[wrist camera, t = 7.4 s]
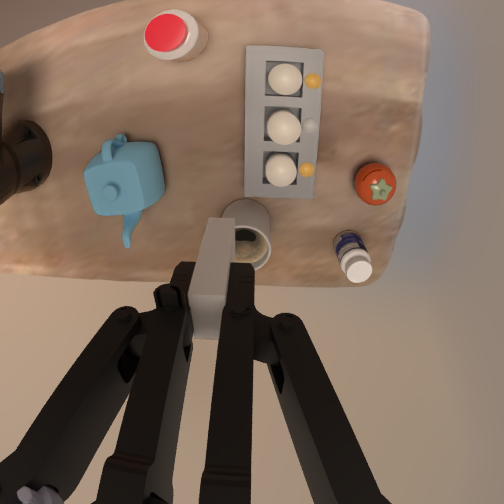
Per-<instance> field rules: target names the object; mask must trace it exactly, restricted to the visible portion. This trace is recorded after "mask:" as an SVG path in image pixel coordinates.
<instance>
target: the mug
mask: <svg viewBox="0 0 504 504" xmlns="http://www.w3.org/2000/svg"><path fill="white" fill-rule="evenodd" d="M222 218H235V262H238V263H251V264H252V266H253V267H254V269H255V270H257V269H259V268H261V267H262V266H263V265H264V264H265V263H266V262H267V261H268V259H269V257H270V254H271V236H270V218H269V214H268V212H267V210H266V209H265V208H264V207H263V206H262V205H261V204H260V203H258V202H256V201H253V200H249V199H241V200H237V201H234V202H233V203H231V204H230V205H228V206H227V207H226V209H225V210H224V212H223V215H222Z"/></svg>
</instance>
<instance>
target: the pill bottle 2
mask: <svg viewBox="0 0 504 504" xmlns="http://www.w3.org/2000/svg"><path fill="white" fill-rule="evenodd" d="M334 249H335V252H336V255H337V258H338V260H339V263H340V266H341V268H342V270H343V272H345V273H346V275H347V277H348V279H349V280H350V281H352V282H354V283H360V282H363V281H365V280H366V279H368V278H369V277H370V275H371V273H372V266H371V264H370V256H369V254H368V252H367V250H366V248H365V246H364V244H363V242H362V240H361V238H360V236H359V235H358V234H357V233H356V232H354V231H344V232H342V233H340V234H339V235H338V236H337V237H336V238H335V241H334Z"/></svg>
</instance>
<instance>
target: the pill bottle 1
mask: <svg viewBox="0 0 504 504" xmlns="http://www.w3.org/2000/svg"><path fill="white" fill-rule="evenodd" d="M207 42H208V32H207V30H206V28H205V26H204V25H203V24H202V23H201V22H200V21H199V20H197V19H196V18H194V17H193V16H192V15H190V14H189V13H187V12H185V11H182V10H176V9H173V10H167V11H163V12H161V13H159V14H157V15H156V16H155V17H153V18H152V19H151V20H150V22H149V23H148V24H147V26H146V28H145V32H144V44H145V47H146V49H147V50H148V52H149V53H150V54H151V55H153V56H154V57H156V58H159V59H162V60H174V61H186V60H191V59H193V58H195V57H197V56H198V55H199V54H201V53H202V52H203V50H204V49H205V47H206V45H207Z"/></svg>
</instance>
